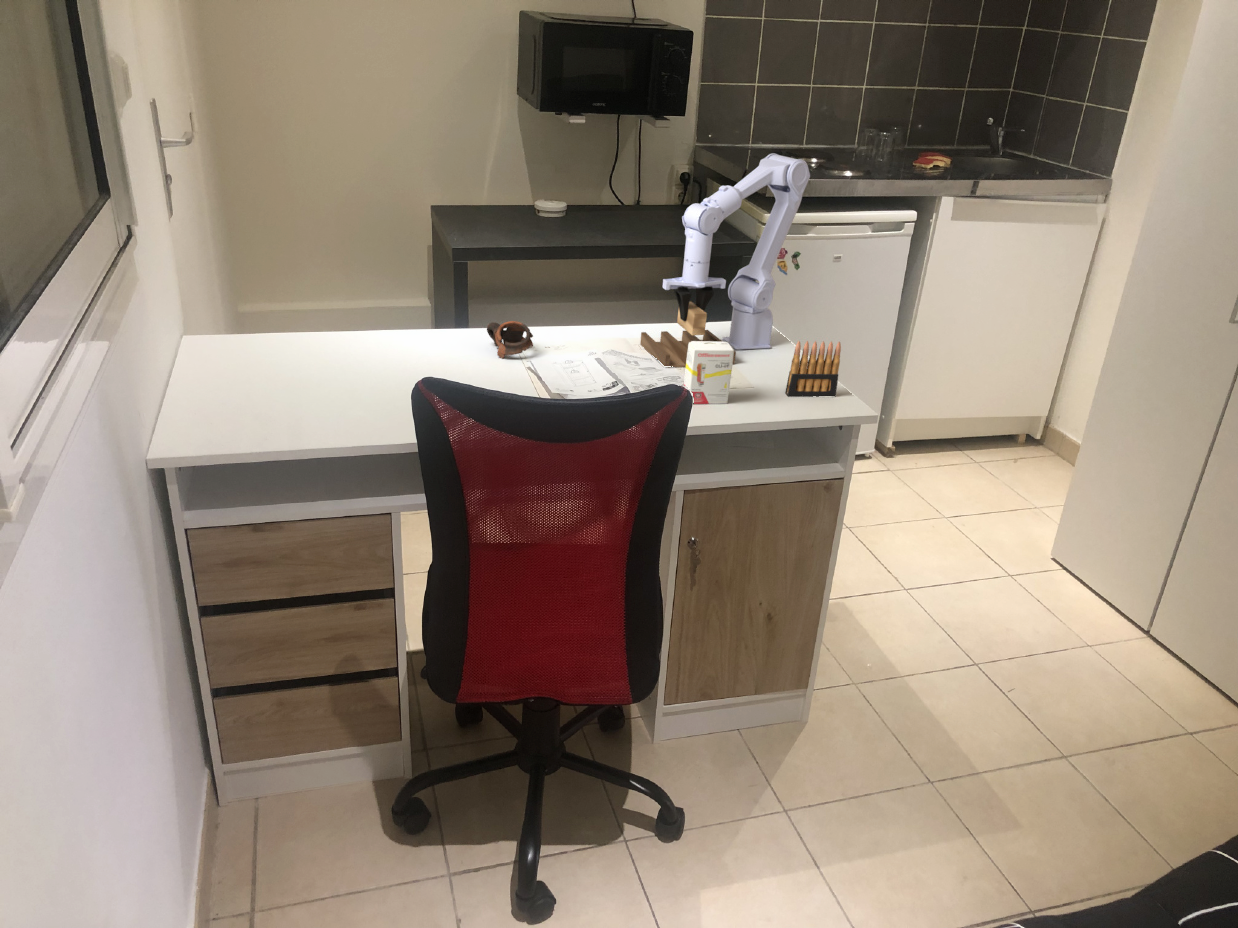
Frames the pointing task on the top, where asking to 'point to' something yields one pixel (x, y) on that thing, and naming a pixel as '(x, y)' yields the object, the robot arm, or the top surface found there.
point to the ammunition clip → (814, 372)
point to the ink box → (709, 371)
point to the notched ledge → (673, 347)
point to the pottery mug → (510, 337)
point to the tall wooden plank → (694, 320)
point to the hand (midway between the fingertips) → (690, 319)
